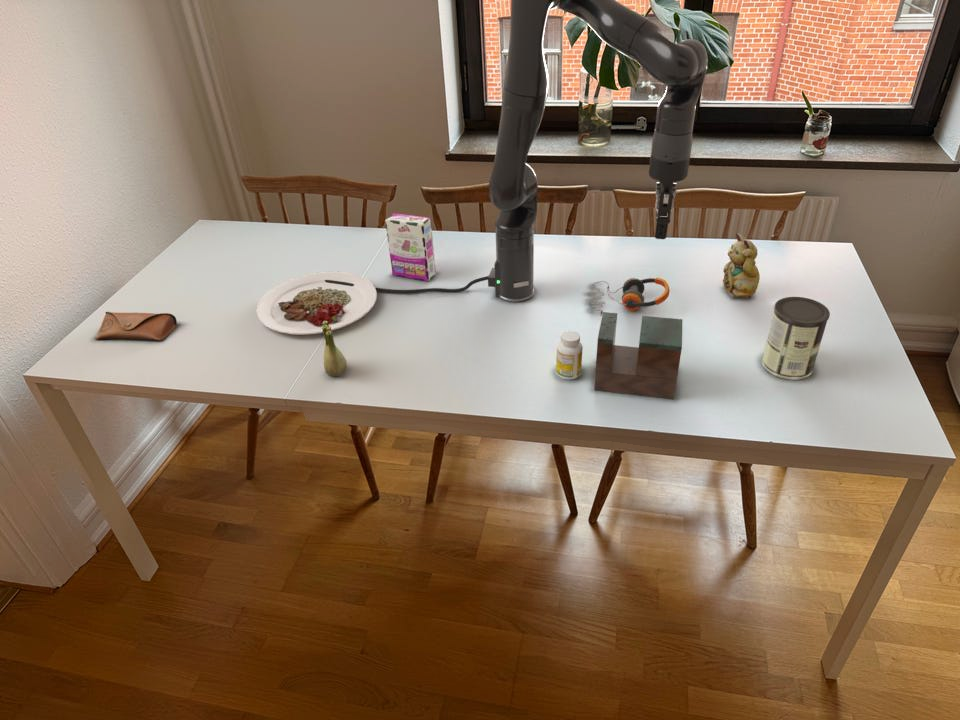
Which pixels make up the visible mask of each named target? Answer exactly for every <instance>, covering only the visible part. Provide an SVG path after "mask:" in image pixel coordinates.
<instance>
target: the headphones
mask: <svg viewBox="0 0 960 720" xmlns="http://www.w3.org/2000/svg"><path fill="white" fill-rule="evenodd" d="M599 283H606V284H607V287H606V289H607V290H606V291H607V296H608V298H610V299H611V300H613V301H615V302H617V303H618V304H620V305H622V306H623V307H624V309H626V310H627V311H632V312H633V311H637V310H639V309H641V308H646V307H647V308H648V307H652V306H658V305H660V304H662V303H664V302H665V301H666V300H667V299H668V298H669V295H670V286H669V283H668V282H667V281H666V280H665V279H664V278H660V277H655V278H653V277H652V278H651V277H648V278H643V279H639V278H636V277H630V278H628V279H626V281H624V283H623V285H622V286H621V287H619V288H618V289H616V291H613V292H611V291H610V285H609V283H608V281H603V280H600V281H596V282H594V283H592V284H591V285H590V287H591V288H592V289H595V290H596V291H591V292H588V293H587V295H588V296H590V295H594V296H593V298H590V299H588V300H587V304H588V305H591V307H590V308H589V311H590V312H600V317H602V314H603V312H604V311H603V310H602V309H594V308H599V307H600V308H601V307H603V305H605V304H606V301H598V300H601V299H602V297H603V296H605V293H604V292H600V290H601V289H600V288H598V287H594V285H595V284H599ZM649 283H650V284H651V283H654V284H656V285H660V286H661V287H663V288H664V292H663V293H662V294H661V295H659V296H658V297H657V298H654V300H651V301H645V296H644V292H645V284H649ZM621 289H622V293H623V294H622V296H621V301H622V302H621V301H619V300H618V299H615V298H614V297H612V296H611V295H610V294H616V293H618V292H619V291H620V290H621Z"/></svg>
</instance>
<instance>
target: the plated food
mask: <svg viewBox="0 0 960 720" xmlns="http://www.w3.org/2000/svg"><path fill="white" fill-rule="evenodd" d="M325 280H333V281H341V282H347V283H352V284H354V286H347V285H341V284H333V283H327V282H325ZM375 288H376V286H374V284H373V283H372V282H371V281H370V280H368V279H367V278H365V277H363V276H361V275H358V274H354V273H351V272H345V271H319V272H313V273H306V274H303V275H299V276H296V277H293V278H290V279H287V280H284V281H283V282H281V283H279V284H277V285H275V286H273V287H272V288H271V289H269V290H268V291H267V292H266V293H265V294H264V295H263V296H262V297H261V299H260V300H259V301H258V303H257V306H256V315H257V319H258V321H259V322H261V324H262V325H263V326H265V327H267V328H268V329H270V330H272V331H274V332H278V333H281V334H288V335H299V336H300V335H302V336H303V335H317V334H322V333H323V330H322V327H323V325H322V323H323V321H328V325H329V326H330V327H331V332H333V331H335V330H338V329H342V328H344V327H347V326H349V325H352V324H353V323H355V322H357V321H358V320H361V319H362V318H363V317H364V316H366V315H367V314H368V313H369V312H371V310H372V309H373V307H374V306H375V304H376V302H377V298H378V293H377V292H378V291H376V289H375Z"/></svg>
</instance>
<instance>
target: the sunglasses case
mask: <svg viewBox="0 0 960 720" xmlns="http://www.w3.org/2000/svg"><path fill="white" fill-rule="evenodd" d="M177 324H178V322H177V317H176V316H175V315H174V314H172V313H169V312H166V313H165V312H164V313H163V312H162V313H155V312H154V313H151V312H113V311H105V315H104V317H103V320H102V322H101V325H100V328H99V330H98V333H97V336H95V338H94V340H127V341H128V340H129V341H162V340H164V339H166V337H168V336H169V335H170V334H171V333H172V332H173V331H174V330H175V329H176V327H177Z"/></svg>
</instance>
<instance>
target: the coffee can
mask: <svg viewBox="0 0 960 720" xmlns="http://www.w3.org/2000/svg"><path fill="white" fill-rule="evenodd" d="M830 314H831V313H830V310H829V309H828V307H827V305H824V304H823V303H821V302H819V301H818V300H815V299H812V298H808V297H803V296H786V297H783V298H780V299H778V300H777V301H776V302H775V304H774V307H773V314H772V318H771V321H770V327H769V331H768V335H767V340H766V344H765V347H764V352H763V357H762V358H761V365H762V367H763V368H764V369H765V370H766V371H767V372H768V373H769V374H771V375H773V376H775V377H776V378H780V379H783V380H790V381H797V380H798V381H799V380H804V379H806V378H809V377H811V375H812V374H813V372H814V367H815V364H816V361H817V356H818V354H819V350H820V346H821V343H822V340H823V336H824V333H825V330H826V327H827V323H828V321H829V319H830V316H831V315H830Z"/></svg>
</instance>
